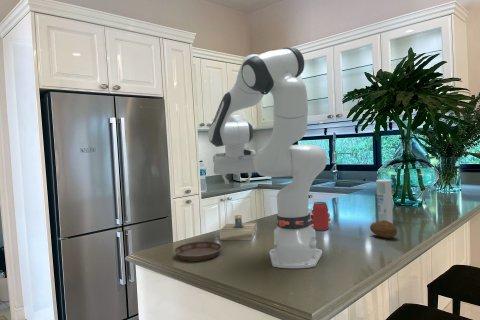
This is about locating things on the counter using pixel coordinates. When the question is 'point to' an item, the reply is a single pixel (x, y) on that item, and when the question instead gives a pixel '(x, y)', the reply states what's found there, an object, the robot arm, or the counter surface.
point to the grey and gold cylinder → (238, 221)
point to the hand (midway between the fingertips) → (237, 183)
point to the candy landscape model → (312, 217)
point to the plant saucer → (198, 251)
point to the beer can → (320, 216)
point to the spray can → (384, 200)
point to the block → (238, 232)
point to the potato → (384, 229)
